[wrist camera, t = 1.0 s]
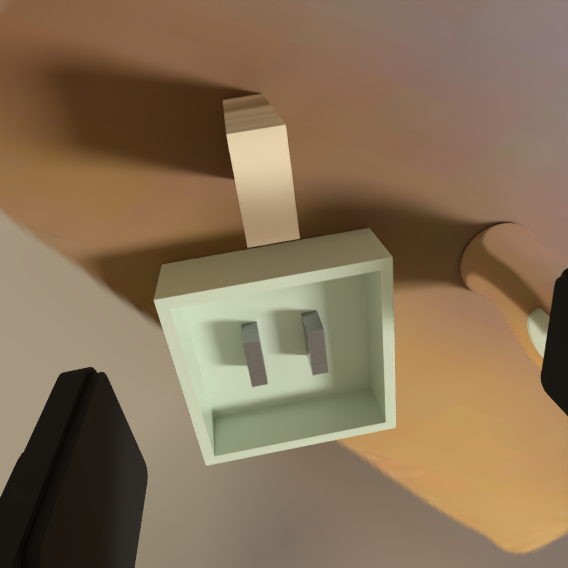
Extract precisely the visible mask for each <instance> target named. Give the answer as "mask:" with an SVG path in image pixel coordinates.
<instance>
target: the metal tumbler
mask: <svg viewBox="0 0 568 568" xmlns="http://www.w3.org/2000/svg"><path fill="white" fill-rule="evenodd" d="M567 268H568V258H566V257H563V256H561V255H558V254H556V253H554V252H552V251H550V250H549V249H547V248H546V247H545V246H544V245H543V244H542V243H541V242H540V241H539V240H538V239H537V238H536V237H535V236H534V235H533V233H532V232H530V231H529V230H528V229H527V228H525V227H524V226H522V225H519V224H515V223H501V224H497V225H494V226H491V227H489V228H487V229H485V230H483V231H482V232H480V233H479V234H478V235H477V236H476V237H474V238H473V240H472V241H471V242H470V243H469V244H468V246H467V247H466V249H465V251H464V253H463V255H462V258H461V262H460V274H461V277H462V280H463V282H464V283H465V285H466V286H467V287H468V288H469V289H470V290H472V291H473V292H475V293H476V294H478V295H480V296H482V297H483V298H485V299H487V300H488V301H490V302H491V303H492V304H493V305H494V306H495V307H496V308H497V309H498V310H499V312H500V313H501V315H502V316H503V318H504V319H505V321H506V323H507V324H508V326H509V328H510V329H511V331H512V332H513V334H514V336H515V337H516V339H517V340H518V342H519V343H520V345H521V346H522V348H523V349H524V350H525V352H526V353H527V355H528V356H529V357H530V359H531V360H532V361H533V363H534V364H535V365H536V366H537V367H538V368H539V369H540V370H541V371H542V364H543V358H544V351H545V344H546V338H547V331H548V324H549V318H550V311H551V304H552V298H553V291H554V285H555V281H556V280H557V278H559V277H561V274H562V272H563V271H564V270H565V269H567Z"/></svg>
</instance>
